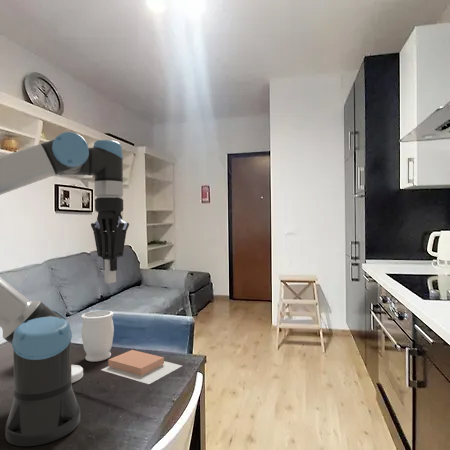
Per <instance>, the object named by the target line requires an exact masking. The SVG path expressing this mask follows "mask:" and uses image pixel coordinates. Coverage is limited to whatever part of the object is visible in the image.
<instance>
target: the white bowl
mask: <svg viewBox="0 0 450 450" xmlns="http://www.w3.org/2000/svg"><path fill="white" fill-rule="evenodd" d="M71 376H72V378H71V380H72V384H73V383H77V382H78V381H79V380H81V379H82V378H83V377H84V368H83V367H82V366H81V365H78V364H71Z"/></svg>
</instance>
